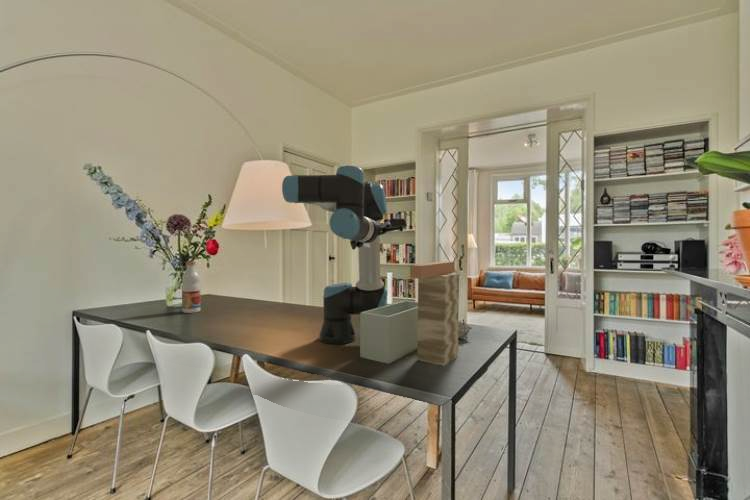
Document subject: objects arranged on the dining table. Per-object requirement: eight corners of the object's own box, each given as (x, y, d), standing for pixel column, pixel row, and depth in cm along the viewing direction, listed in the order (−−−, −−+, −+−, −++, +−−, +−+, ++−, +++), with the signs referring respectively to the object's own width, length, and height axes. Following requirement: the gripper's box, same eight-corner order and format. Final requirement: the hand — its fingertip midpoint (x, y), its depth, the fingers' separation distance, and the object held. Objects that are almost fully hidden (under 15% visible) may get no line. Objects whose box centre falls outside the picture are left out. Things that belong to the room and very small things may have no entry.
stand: (443, 365, 121) (445, 276, 120) (417, 359, 127) (418, 274, 126) (457, 356, 131) (459, 273, 130) (432, 351, 137) (433, 271, 136)
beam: (421, 278, 113) (421, 265, 113) (410, 277, 115) (410, 265, 115) (454, 272, 134) (454, 261, 134) (444, 271, 136) (444, 261, 136)
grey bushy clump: (464, 348, 153) (472, 333, 147) (444, 340, 154) (452, 324, 148) (467, 333, 160) (475, 318, 154) (449, 325, 161) (456, 310, 155)
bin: (388, 363, 123) (388, 316, 122) (360, 356, 130) (360, 312, 129) (429, 342, 148) (430, 303, 147) (404, 337, 155) (404, 300, 154)
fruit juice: (187, 309, 210) (186, 261, 209) (203, 309, 211) (203, 261, 210) (178, 313, 201) (178, 262, 200) (196, 313, 201) (195, 263, 200)
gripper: (331, 257, 110) (357, 260, 130) (405, 224, 103) (421, 232, 123) (323, 234, 111) (350, 240, 131) (396, 200, 104) (413, 212, 124)
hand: (385, 236), depth 127 cm, fingers open, 13 cm apart
